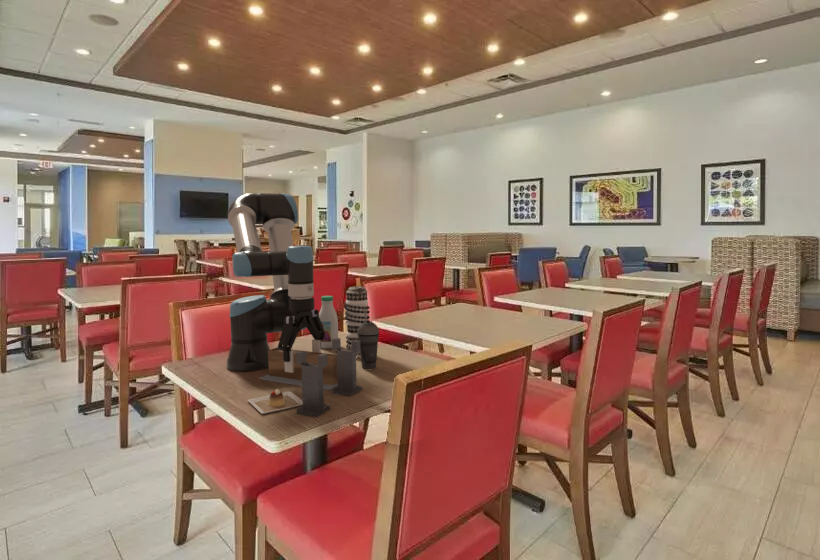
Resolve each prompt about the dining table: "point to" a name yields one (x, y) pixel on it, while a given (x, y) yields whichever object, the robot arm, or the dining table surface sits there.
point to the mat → (294, 381)
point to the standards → (314, 378)
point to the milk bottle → (328, 321)
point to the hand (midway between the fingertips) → (303, 365)
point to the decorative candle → (355, 313)
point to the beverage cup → (368, 343)
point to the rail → (311, 357)
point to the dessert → (276, 400)
